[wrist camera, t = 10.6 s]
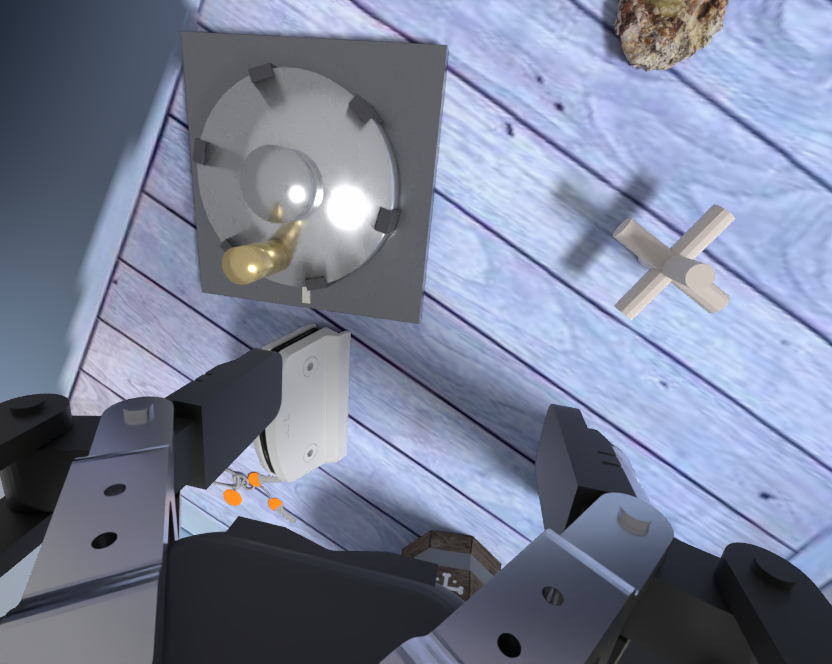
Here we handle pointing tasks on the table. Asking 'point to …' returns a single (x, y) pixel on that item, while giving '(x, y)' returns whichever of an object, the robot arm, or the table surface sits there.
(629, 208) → the table surface
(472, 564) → the mug
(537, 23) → the table surface
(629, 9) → the mineral rock
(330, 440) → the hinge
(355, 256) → the silver disc
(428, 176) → the base plate
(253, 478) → the key chain
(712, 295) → the pipe connector
